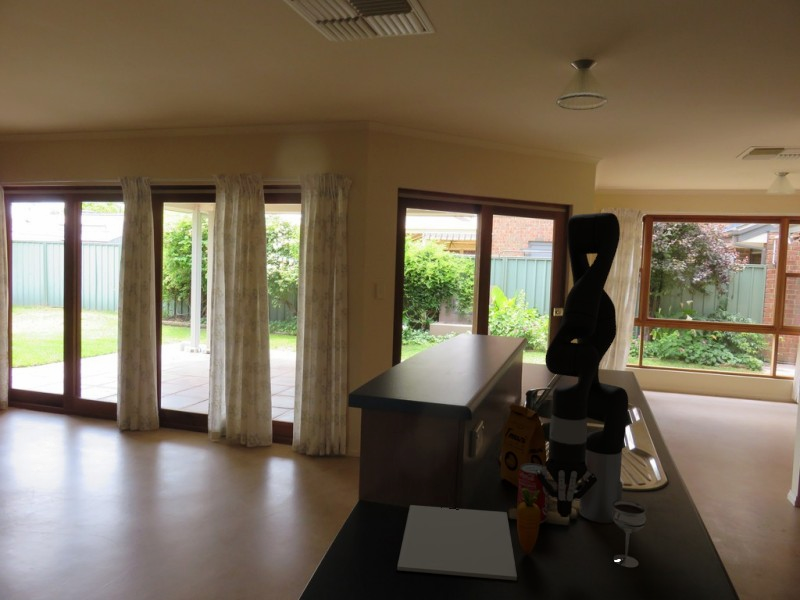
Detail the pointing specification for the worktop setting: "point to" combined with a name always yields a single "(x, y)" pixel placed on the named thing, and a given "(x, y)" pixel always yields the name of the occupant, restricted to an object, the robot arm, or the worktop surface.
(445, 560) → the rubber mat
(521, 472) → the soda can
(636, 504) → the wineglass
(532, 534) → the carrot
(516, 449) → the coffee package
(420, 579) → the worktop surface
